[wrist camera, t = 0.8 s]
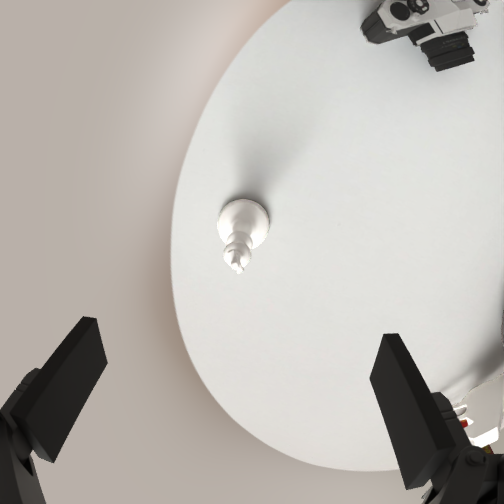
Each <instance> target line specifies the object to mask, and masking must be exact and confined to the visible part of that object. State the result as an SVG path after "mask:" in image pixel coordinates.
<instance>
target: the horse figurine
mask: <svg viewBox="0 0 504 504" xmlns="http://www.w3.org/2000/svg"><path fill="white" fill-rule="evenodd" d="M452 407H453V410H455V409H458V408H463V407H466V412H465V413H464V414H463V415H460V416H457V418H459V420H460V421H461V420H464V419H467V422H468V426H467V427H465V428H464V430H465V432H466V434H467V436H468V438H469V440H470V442H471V444H472V445H474V446H479V447H481V448H482V447H484V446H486V445H488V444H490V443H492V442H494V441H496V440H498V437H499V433H500V428H501V423H502V419H503V415H504V372H503V373H502V374H500V376H499V377H498V378H496V379H495V380H491V381H487V382H485V383H483V384H481V385H479V386H477V387H475V388H473V389H471V390H470V391H469V393H468V394H467V395H466V396H465V397H464V398H463V400H462V401H461V402H460V403H457V404H454V405H452Z"/></svg>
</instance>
